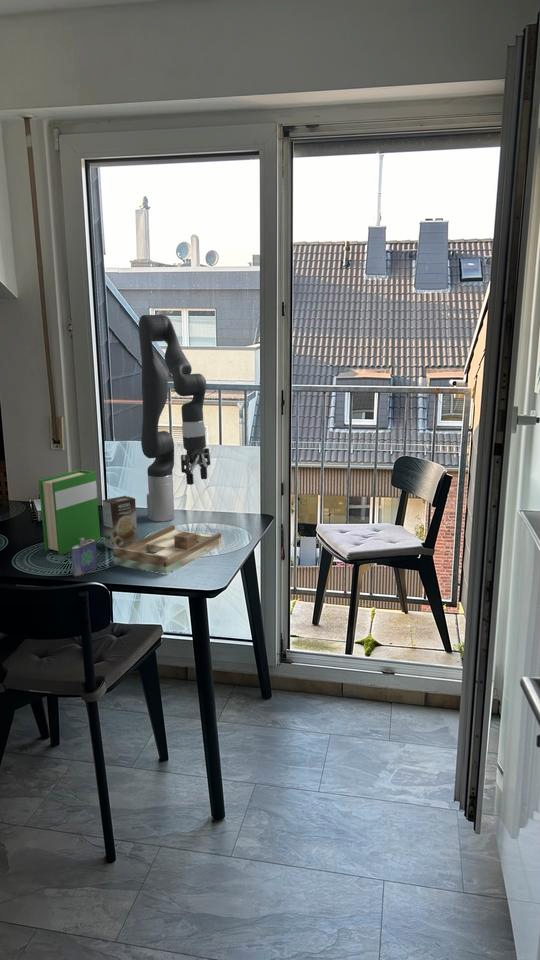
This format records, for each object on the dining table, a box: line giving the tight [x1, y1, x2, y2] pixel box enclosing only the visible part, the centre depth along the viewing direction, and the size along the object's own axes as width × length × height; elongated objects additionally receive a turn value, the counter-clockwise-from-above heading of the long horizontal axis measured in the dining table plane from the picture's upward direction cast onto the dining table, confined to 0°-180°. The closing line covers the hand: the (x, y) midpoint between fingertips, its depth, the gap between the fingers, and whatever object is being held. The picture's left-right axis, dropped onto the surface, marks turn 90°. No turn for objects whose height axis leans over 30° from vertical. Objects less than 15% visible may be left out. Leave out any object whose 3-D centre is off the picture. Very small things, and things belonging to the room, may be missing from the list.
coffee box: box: [102, 495, 138, 550], centre depth 230 cm, size 9×6×16 cm
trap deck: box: [112, 524, 222, 574], centre depth 222 cm, size 20×31×6 cm, turn 152°
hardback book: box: [38, 469, 101, 555], centre depth 230 cm, size 18×7×24 cm, turn 147°
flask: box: [71, 538, 98, 577], centre depth 208 cm, size 9×3×11 cm, turn 151°
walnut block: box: [174, 531, 197, 550], centre depth 222 cm, size 5×5×4 cm
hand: (197, 481), depth 233 cm, fingers open, 8 cm apart
